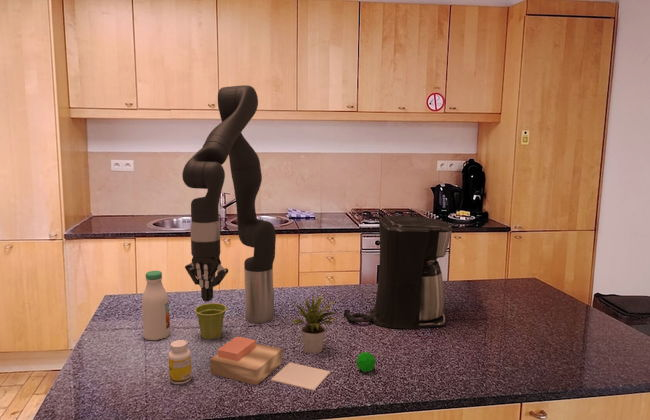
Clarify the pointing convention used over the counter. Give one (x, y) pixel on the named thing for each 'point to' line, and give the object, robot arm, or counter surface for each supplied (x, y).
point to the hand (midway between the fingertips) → (207, 300)
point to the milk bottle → (155, 308)
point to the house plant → (314, 325)
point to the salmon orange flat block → (236, 348)
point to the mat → (301, 376)
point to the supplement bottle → (180, 362)
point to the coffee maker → (409, 273)
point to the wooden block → (248, 365)
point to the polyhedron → (366, 362)
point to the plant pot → (211, 319)
